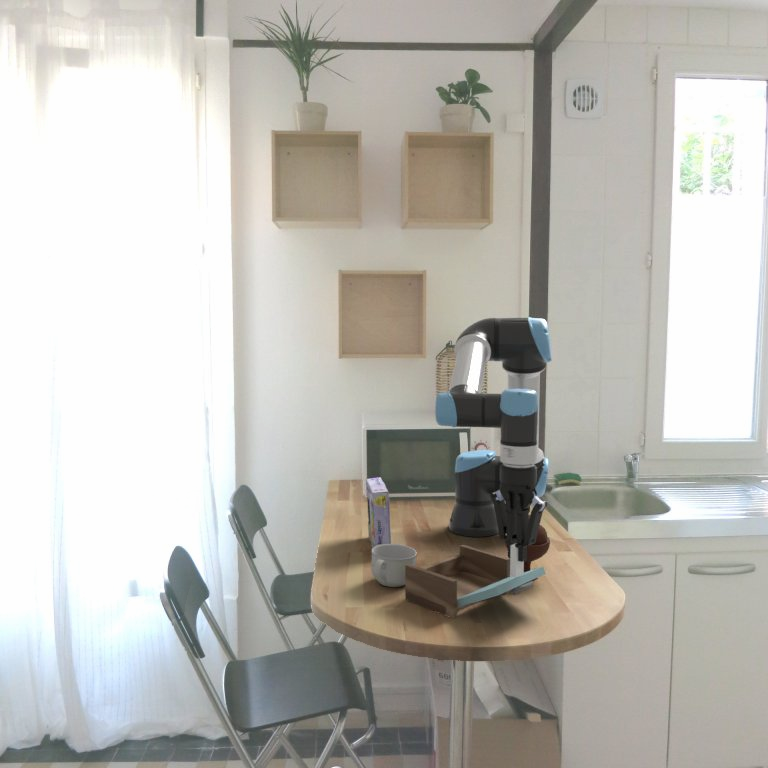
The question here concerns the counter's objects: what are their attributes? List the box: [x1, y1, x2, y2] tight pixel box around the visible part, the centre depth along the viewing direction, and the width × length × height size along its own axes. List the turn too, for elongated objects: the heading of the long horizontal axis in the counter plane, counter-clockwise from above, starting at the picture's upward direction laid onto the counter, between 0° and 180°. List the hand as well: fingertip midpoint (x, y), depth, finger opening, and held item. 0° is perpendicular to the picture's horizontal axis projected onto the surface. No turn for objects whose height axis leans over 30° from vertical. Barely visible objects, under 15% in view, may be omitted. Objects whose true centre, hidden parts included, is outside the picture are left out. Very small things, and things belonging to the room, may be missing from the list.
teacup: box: [371, 543, 418, 588], centre depth 170 cm, size 14×11×8 cm
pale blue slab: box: [457, 566, 547, 607], centre depth 154 cm, size 17×3×12 cm
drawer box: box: [404, 544, 511, 619], centre depth 162 cm, size 20×14×8 cm
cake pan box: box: [365, 477, 392, 549], centre depth 197 cm, size 19×5×18 cm, turn 7°
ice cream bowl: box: [504, 514, 551, 582], centre depth 174 cm, size 11×11×15 cm
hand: (516, 574), depth 150 cm, fingers closed
